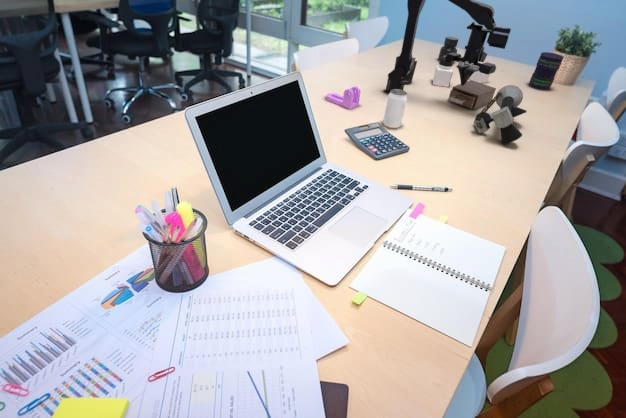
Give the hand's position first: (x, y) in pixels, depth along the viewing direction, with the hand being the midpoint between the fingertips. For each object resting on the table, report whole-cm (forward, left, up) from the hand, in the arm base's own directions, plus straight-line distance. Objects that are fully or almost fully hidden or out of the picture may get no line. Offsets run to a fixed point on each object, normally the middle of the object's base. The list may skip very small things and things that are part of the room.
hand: (462, 85), depth 153 cm
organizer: (0, +12, -9) cm, 15 cm away
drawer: (0, +7, -8) cm, 11 cm away
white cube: (-12, +43, -9) cm, 46 cm away
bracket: (-30, -37, -9) cm, 48 cm away
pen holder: (-32, +7, -9) cm, 34 cm away
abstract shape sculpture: (+20, -5, -9) cm, 23 cm away
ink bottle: (-39, +58, -9) cm, 70 cm away
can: (-5, -37, -9) cm, 38 cm away
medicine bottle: (-20, +21, -9) cm, 30 cm away
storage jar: (+10, +63, -9) cm, 64 cm away
